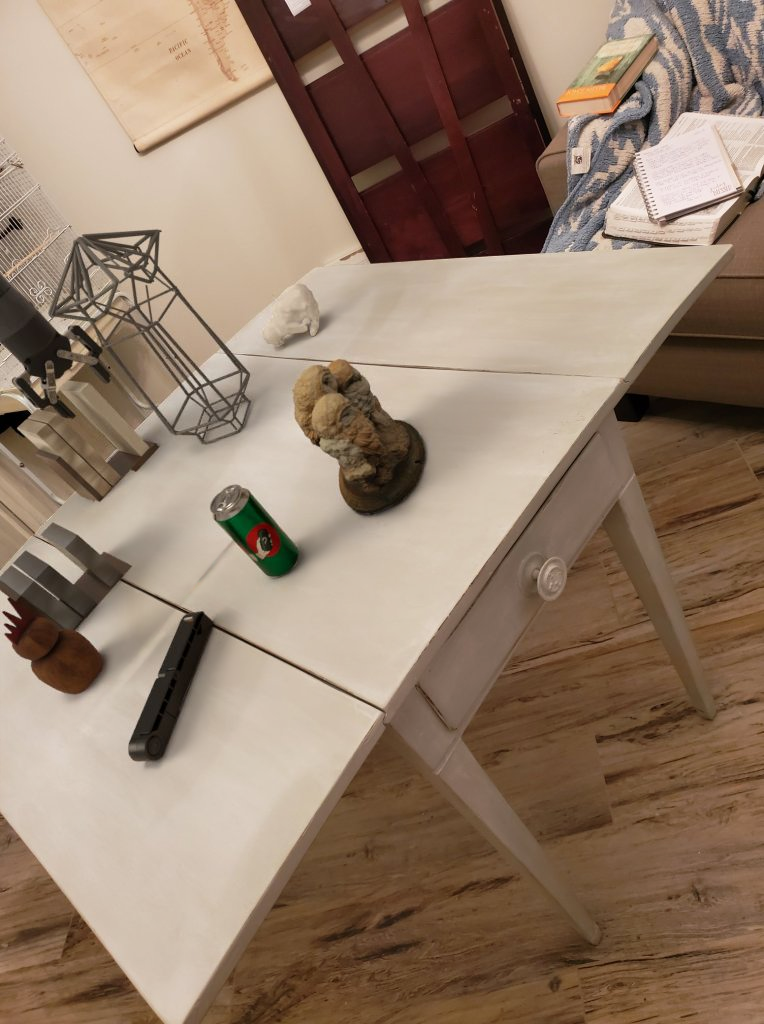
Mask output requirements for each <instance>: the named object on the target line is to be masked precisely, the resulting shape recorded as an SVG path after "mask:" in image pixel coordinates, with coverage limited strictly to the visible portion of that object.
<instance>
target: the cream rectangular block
mask: <svg viewBox="0 0 764 1024" xmlns="http://www.w3.org/2000/svg"><path fill="white" fill-rule="evenodd" d="M58 390H59V391H60V392H61V393H62V395H64V396H65V397H66V398H67V400H69V401H70V402H71V403H72V404H73V405H74V406H75V408H77V410H78V411H79V412H80V413H81V414H82V415H84V416H85V418H86V419H87V420H88V421H89V422H90V423H91V424H92V425H93V426H94V427H95V428H96V429H97V430H98V431H99V432H100V433H101V434H102V436H103V437H105V438H106V439H107V440H108V441H109V442H110V444H111V445H113V446H114V447H115V449H117V451H118V450H119V451H123V452H126V453H130V454H134V455H138V456H142V455H143V454H144V453H145V452H146V451H147V450H148V449H149V448H150V447H149V446H148V445H147V444H146V443H145V442H144V441H143V440H144V439H143V438H141V436H140V435H139V434H138V433H137V432H136V431H135V430H134V429H133V428H132V427H131V426H130V425H129V423H128V422H126V420H125V419H124V418H123V417H122V416H121V415H120V414H119V413H118V412H117V411H116V409H115V408H113V406H112V405H111V404H110V403H109V402H108V401H107V400H106V399H105V398H104V397H103V396H102V395H101V393H99V391H98V390H97V389H96V388H95V387H94V386H93V385H92V384H91V383H90V382H84V381H76V380H68V379H67V380H66V381H65V382H64V383H63V384H62V385H61V386H60V387H59V388H58Z"/></svg>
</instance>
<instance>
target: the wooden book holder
mask: <svg viewBox="0 0 764 1024" xmlns="http://www.w3.org/2000/svg"><path fill="white" fill-rule="evenodd" d="M16 429H17V430H18V431H19V432H20V433H21V434H22V435H23V436H24V437H26V438H27V439H28V441H30V442H31V443H32V445H34V446H35V447H36V448H37V449H38V450H37V451H36V452H35V453H34V454H35V455H36V456H37V457H38V458H39V459H40V460H41V461H42V462H43V463H44V464H46V466H47V467H49V468H50V469H51V470H52V471H53V472H54V473H55V474H56V475H57V476H58V477H59V478H61V479H62V480H63V481H64V482H65V484H67V485H68V486H69V487H71V488H72V490H74V491H75V492H76V493H77V494H78V495H79V496H80V497H81V496H82V497H81V498H84V497H85V498H84V499H86V498H87V500H89V501H91V500H92V501H91V502H95V501H97V502H99V503H101V502H102V501H103V499H104V498H105V497H106V496H108V494H109V493H110V492H111V491H112V490H113V489H114V488H115V487H116V486H117V485H118V484H119V483H120V482H121V481H122V479H123V478H125V476H126V475H127V474H128V473H129V472H130V471H132V472H138V470H139V469H140V468H141V467H142V466H143V465H144V464H145V462H146V461H148V460H149V458H150V457H152V455H153V454H155V452H156V451H157V450H158V449H159V448H160V445H159V444H158V443H157V442H154V441H150V440H146V439H142V440H143V441H144V442H145V443H146V444H147V445H148V446H149V447H150V448H149V449H148V450H147V451H146V452H145V453H144V454H143V455H142V456H138V455H134V454H130V453H126V452H123V451H119V450H118V449H117V451H116V452H115V453H114V454H113V455H112V457H110V458H109V459H108V460H107V461H106V460H105V459H104V458H103V457H102V456H101V455H100V454H99V452H97V451H96V450H95V449H94V448H93V447H92V446H91V445H90V443H88V442H87V441H86V440H85V439H84V438H83V436H81V435H80V434H79V433H78V432H77V431H76V430H75V429H74V428H73V427H72V426H71V425H70V424H69V423H68V422H67V421H66V420H65V418H64V417H62V416H61V415H60V414H59V413H58V412H52V411H48V410H44V409H40V408H36V410H34V412H32V414H30V415H29V416H28V417H27V418H26V419H25V420H24V421H23V422H22V423H21V424H20V425H18V426H17V428H16Z"/></svg>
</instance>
